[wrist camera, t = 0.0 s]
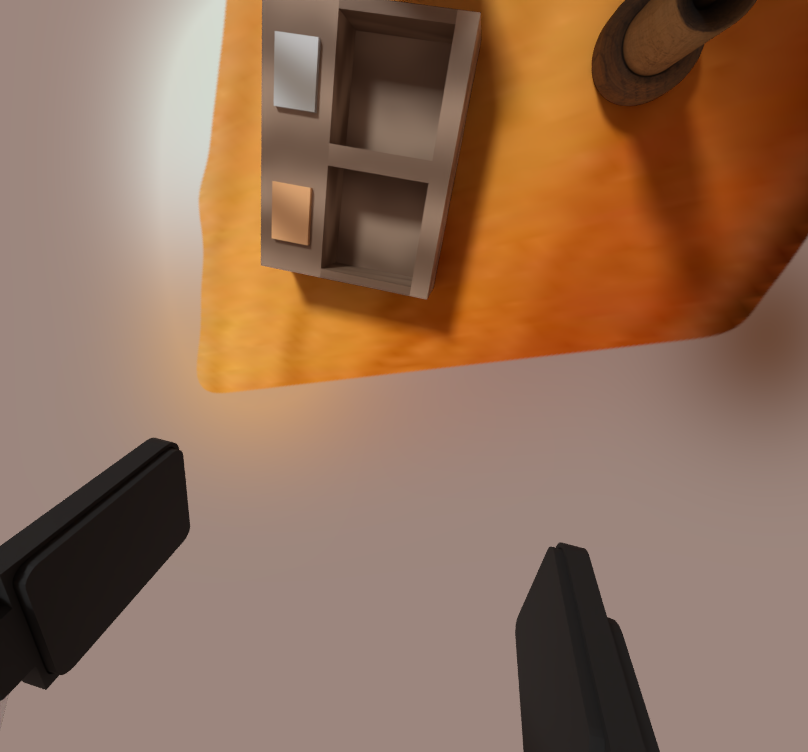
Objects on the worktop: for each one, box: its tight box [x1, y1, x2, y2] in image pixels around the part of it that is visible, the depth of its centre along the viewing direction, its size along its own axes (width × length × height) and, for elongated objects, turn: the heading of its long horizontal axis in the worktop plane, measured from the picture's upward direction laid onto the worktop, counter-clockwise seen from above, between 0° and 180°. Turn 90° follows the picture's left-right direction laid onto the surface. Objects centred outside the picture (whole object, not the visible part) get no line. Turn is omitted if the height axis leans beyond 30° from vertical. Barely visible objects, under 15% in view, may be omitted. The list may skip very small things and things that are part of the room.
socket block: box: [261, 0, 481, 299], centre depth 33 cm, size 19×15×5 cm
